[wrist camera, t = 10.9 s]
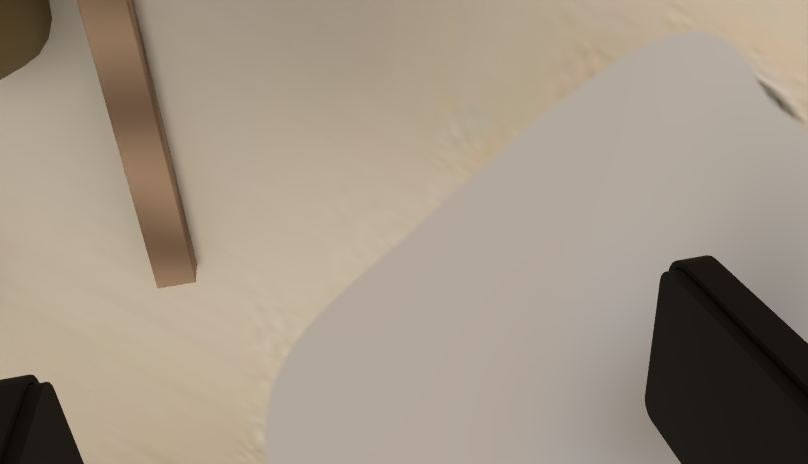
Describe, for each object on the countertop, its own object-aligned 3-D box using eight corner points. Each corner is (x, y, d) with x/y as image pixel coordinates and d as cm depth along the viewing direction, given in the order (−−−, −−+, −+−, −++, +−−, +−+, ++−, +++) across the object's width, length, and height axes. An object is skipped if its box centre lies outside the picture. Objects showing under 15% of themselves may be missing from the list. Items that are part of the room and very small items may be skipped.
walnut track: (-251, -132, 29) (-313, -124, 26) (93, -159, 31) (77, -155, 28) (-52, 304, 40) (-78, 351, 36) (196, 264, 42) (194, 305, 38)
